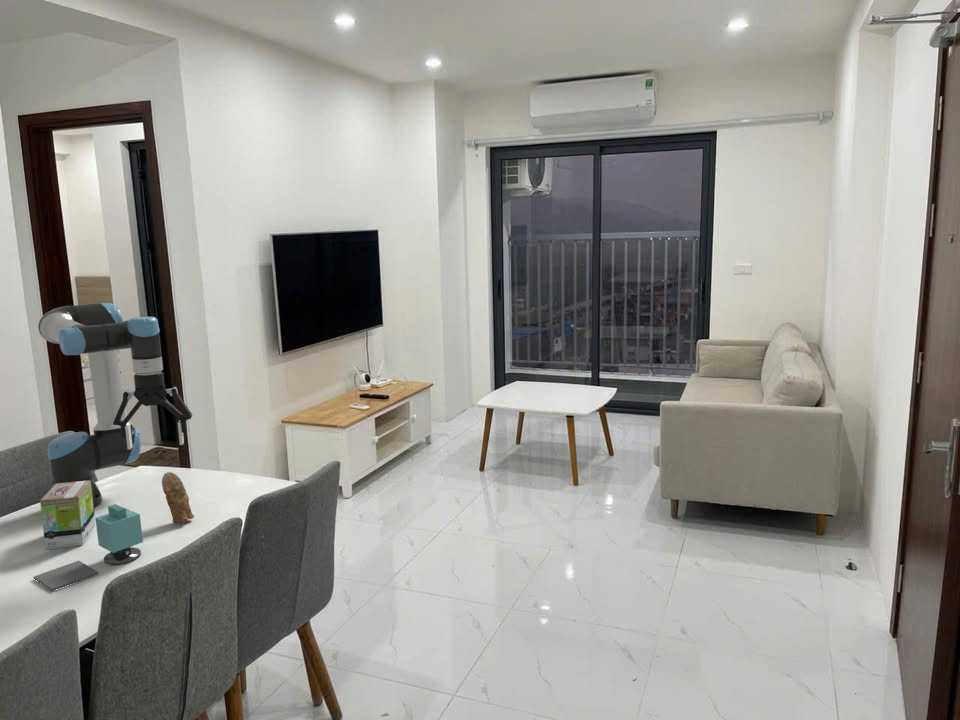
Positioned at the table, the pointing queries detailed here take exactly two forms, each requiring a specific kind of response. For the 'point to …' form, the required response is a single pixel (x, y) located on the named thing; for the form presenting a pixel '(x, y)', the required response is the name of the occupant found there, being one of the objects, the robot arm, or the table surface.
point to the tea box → (67, 514)
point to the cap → (118, 529)
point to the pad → (66, 575)
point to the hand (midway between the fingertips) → (156, 445)
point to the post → (122, 556)
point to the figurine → (176, 497)
